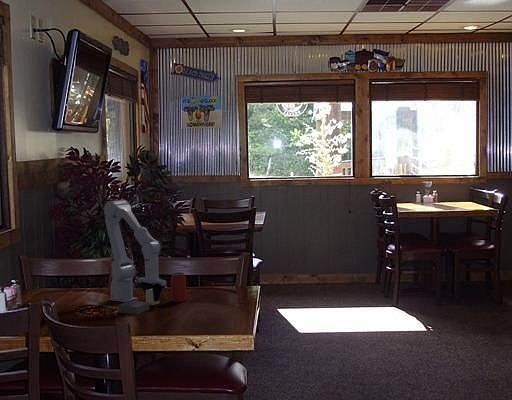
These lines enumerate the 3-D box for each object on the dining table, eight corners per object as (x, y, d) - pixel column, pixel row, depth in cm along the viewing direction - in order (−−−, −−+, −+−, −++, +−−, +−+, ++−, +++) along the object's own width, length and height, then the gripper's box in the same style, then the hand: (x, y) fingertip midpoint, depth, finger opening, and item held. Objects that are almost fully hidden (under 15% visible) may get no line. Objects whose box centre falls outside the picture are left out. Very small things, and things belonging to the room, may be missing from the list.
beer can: (183, 302, 292) (183, 275, 291) (169, 302, 294) (168, 274, 293) (188, 299, 299) (187, 272, 298) (173, 299, 300) (173, 272, 299)
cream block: (145, 304, 291) (145, 290, 290) (152, 302, 294) (152, 288, 294) (152, 305, 289) (152, 291, 288) (159, 303, 292) (158, 289, 291)
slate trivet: (118, 312, 276) (118, 305, 276) (131, 307, 284) (131, 300, 284) (137, 314, 272) (136, 307, 272) (149, 309, 280) (149, 302, 280)
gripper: (132, 268, 291) (133, 300, 292) (157, 272, 283) (158, 304, 284) (144, 266, 297) (145, 297, 298) (169, 269, 289) (170, 301, 290)
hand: (152, 300), depth 291 cm, fingers closed on cream block, 4 cm apart
